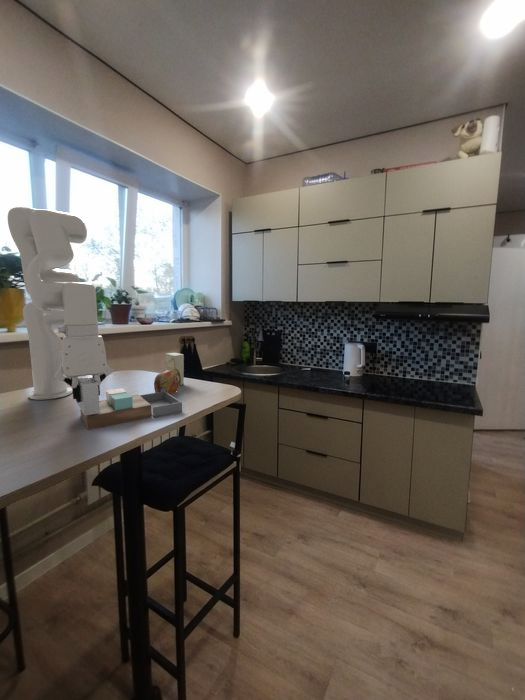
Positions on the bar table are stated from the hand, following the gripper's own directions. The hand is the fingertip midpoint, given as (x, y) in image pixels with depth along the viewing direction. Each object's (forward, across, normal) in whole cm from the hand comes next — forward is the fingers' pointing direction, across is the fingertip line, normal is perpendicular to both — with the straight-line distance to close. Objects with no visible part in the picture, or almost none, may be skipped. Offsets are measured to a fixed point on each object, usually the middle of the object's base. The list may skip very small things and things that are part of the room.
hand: (86, 399), depth 86 cm
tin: (+7, +27, +13) cm, 31 cm away
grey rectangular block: (+2, 0, 0) cm, 2 cm away
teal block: (+3, +8, -3) cm, 9 cm away
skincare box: (+6, +34, +24) cm, 42 cm away
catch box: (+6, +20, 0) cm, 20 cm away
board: (+6, +7, 0) cm, 9 cm away
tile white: (+3, +8, +3) cm, 9 cm away
